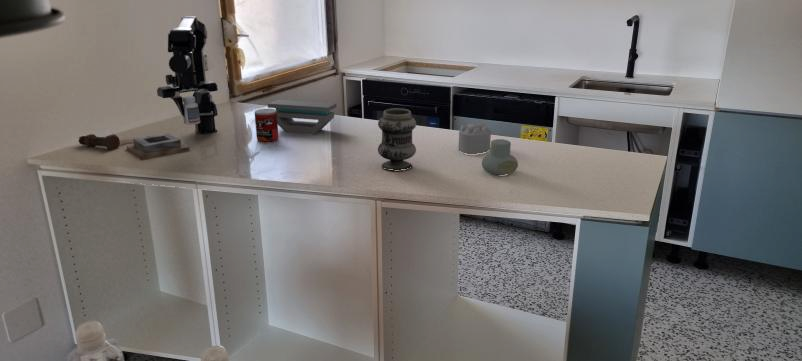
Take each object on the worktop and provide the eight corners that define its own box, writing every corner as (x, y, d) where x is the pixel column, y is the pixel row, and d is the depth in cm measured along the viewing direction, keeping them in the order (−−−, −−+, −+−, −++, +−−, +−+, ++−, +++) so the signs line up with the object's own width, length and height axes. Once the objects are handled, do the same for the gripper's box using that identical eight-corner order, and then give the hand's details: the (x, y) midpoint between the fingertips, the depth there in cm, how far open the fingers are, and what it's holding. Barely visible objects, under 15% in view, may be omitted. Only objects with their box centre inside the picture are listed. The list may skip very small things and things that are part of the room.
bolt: (85, 149, 215) (117, 152, 210) (73, 146, 210) (106, 148, 205) (89, 134, 216) (121, 136, 211) (77, 130, 211) (110, 132, 206)
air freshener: (491, 179, 178) (492, 147, 174) (476, 171, 185) (478, 140, 181) (521, 174, 182) (523, 142, 178) (506, 166, 189) (508, 136, 186)
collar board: (172, 140, 219) (171, 131, 218) (189, 150, 207) (188, 140, 206) (127, 148, 209) (125, 138, 208) (142, 159, 198) (140, 148, 196)
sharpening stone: (337, 130, 232) (336, 103, 228) (329, 136, 225) (328, 107, 221) (279, 126, 239) (277, 99, 235) (269, 131, 232) (267, 103, 228)
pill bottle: (203, 121, 206) (200, 96, 202) (194, 125, 201) (190, 99, 198) (190, 120, 207) (187, 95, 204) (180, 124, 202) (177, 98, 199)
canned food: (252, 142, 217) (250, 112, 213) (265, 136, 224) (263, 107, 220) (270, 144, 214) (268, 114, 211) (282, 138, 221) (280, 109, 218)
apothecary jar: (403, 175, 181) (403, 117, 175) (370, 168, 187) (369, 112, 181) (423, 164, 191) (423, 109, 185) (391, 159, 197) (390, 105, 191)
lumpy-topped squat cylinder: (491, 146, 211) (493, 122, 208) (485, 156, 199) (486, 131, 196) (463, 144, 214) (463, 120, 211) (454, 154, 202) (455, 129, 199)
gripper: (201, 62, 209) (206, 106, 214) (147, 68, 197) (154, 114, 203) (215, 66, 201) (220, 111, 207) (160, 72, 190) (167, 120, 195)
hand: (191, 114), depth 203 cm, fingers closed on pill bottle, 5 cm apart
